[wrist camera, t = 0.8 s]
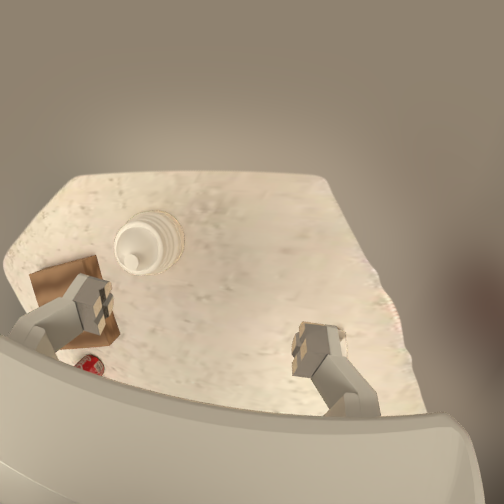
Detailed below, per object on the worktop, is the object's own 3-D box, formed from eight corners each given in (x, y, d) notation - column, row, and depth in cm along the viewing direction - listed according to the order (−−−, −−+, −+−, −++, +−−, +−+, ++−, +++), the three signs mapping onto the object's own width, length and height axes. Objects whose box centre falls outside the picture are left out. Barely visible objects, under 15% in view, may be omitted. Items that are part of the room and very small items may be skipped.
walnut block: (120, 333, 67) (109, 345, 60) (68, 339, 68) (55, 349, 61) (96, 254, 64) (81, 260, 57) (45, 268, 65) (29, 274, 58)
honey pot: (196, 231, 63) (173, 244, 45) (166, 280, 64) (136, 308, 47) (147, 199, 61) (109, 200, 44) (120, 248, 63) (78, 265, 46)
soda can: (80, 362, 69) (58, 384, 57) (90, 348, 68) (68, 370, 56) (98, 379, 70) (79, 403, 58) (109, 366, 69) (90, 390, 57)
